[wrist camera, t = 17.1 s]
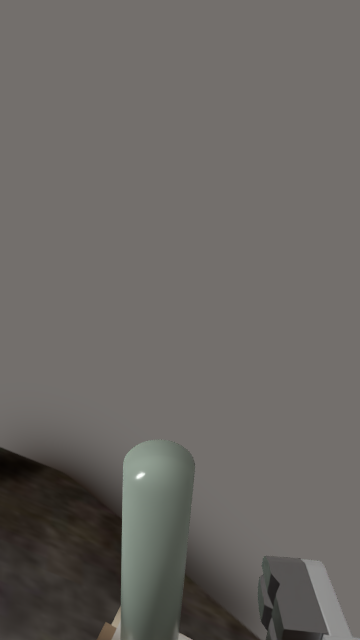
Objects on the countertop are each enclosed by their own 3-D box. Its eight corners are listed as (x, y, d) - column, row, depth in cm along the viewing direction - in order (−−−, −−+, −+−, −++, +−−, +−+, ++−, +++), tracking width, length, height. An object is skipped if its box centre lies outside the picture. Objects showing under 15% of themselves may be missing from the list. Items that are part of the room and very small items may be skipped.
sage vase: (162, 766, 24) (185, 514, 17) (100, 723, 26) (97, 480, 19) (186, 673, 30) (212, 449, 22) (133, 643, 32) (141, 427, 24)
